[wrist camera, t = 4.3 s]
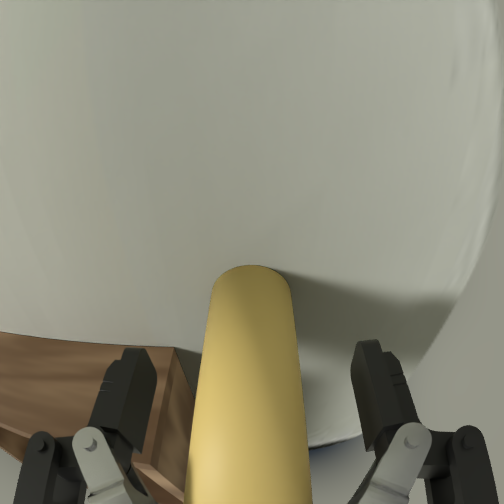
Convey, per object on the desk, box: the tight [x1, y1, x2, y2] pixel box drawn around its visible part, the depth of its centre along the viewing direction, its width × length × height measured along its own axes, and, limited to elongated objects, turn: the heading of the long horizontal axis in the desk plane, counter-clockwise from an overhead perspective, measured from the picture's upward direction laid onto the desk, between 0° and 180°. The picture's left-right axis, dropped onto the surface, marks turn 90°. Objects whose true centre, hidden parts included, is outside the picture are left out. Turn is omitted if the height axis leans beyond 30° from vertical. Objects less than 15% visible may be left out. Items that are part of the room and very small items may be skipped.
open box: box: [0, 332, 195, 504], centre depth 17 cm, size 13×19×7 cm
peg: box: [183, 265, 313, 504], centre depth 10 cm, size 4×4×10 cm
